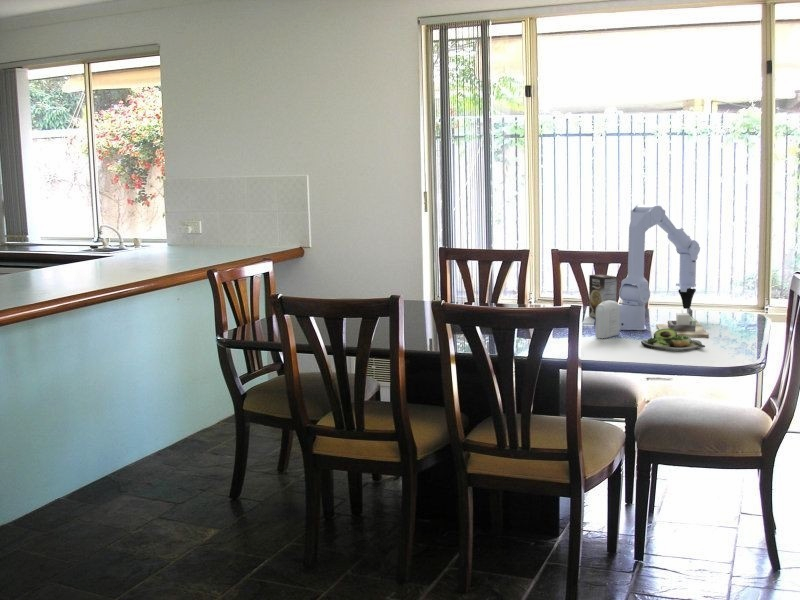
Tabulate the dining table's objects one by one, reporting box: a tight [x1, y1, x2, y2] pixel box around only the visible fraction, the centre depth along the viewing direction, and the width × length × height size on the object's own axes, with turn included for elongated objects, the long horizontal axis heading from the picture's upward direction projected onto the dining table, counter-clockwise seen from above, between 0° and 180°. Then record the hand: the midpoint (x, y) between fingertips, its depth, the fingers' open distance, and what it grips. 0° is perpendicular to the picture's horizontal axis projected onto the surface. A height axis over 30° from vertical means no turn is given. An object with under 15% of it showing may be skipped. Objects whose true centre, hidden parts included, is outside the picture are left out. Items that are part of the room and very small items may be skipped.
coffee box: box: [588, 273, 618, 319], centre depth 332 cm, size 9×6×16 cm
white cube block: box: [675, 312, 690, 325], centre depth 302 cm, size 4×4×5 cm
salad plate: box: [641, 329, 706, 352], centre depth 279 cm, size 19×18×5 cm
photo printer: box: [594, 300, 620, 340], centre depth 296 cm, size 10×4×12 cm, turn 134°
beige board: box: [655, 318, 710, 338], centre depth 307 cm, size 15×30×3 cm, turn 170°
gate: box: [686, 307, 697, 326], centre depth 311 cm, size 1×14×4 cm, turn 169°
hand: (686, 308), depth 323 cm, fingers closed
